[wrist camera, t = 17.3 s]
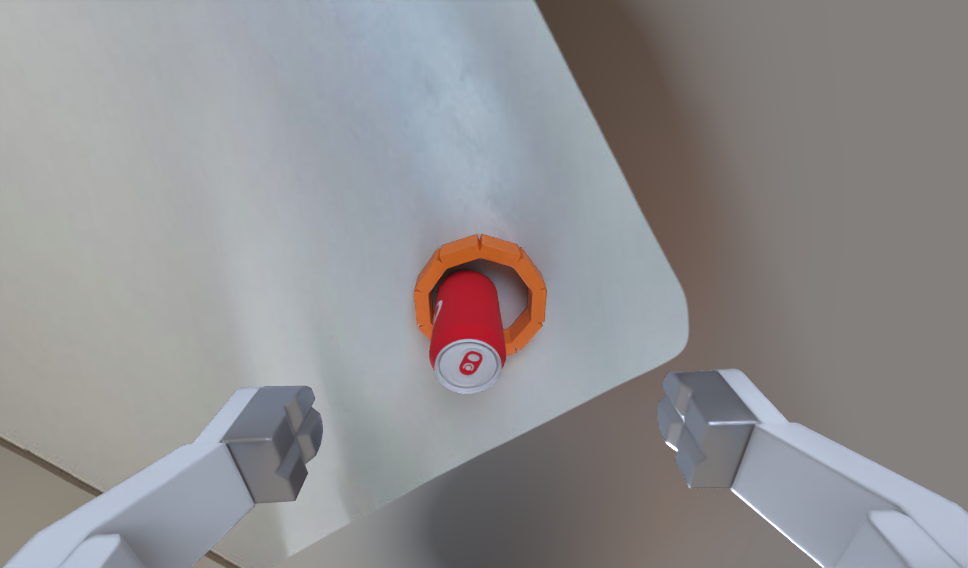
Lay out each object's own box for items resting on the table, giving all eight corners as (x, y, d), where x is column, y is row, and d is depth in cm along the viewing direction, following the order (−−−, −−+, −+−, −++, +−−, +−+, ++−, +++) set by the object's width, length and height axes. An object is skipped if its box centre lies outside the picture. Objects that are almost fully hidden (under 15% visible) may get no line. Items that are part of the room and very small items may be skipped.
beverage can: (428, 307, 41) (415, 385, 30) (450, 258, 39) (444, 323, 28) (482, 327, 42) (488, 408, 32) (507, 280, 40) (522, 351, 29)
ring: (545, 232, 38) (550, 243, 35) (537, 345, 44) (541, 360, 41) (412, 234, 37) (408, 245, 35) (423, 347, 43) (420, 363, 41)
